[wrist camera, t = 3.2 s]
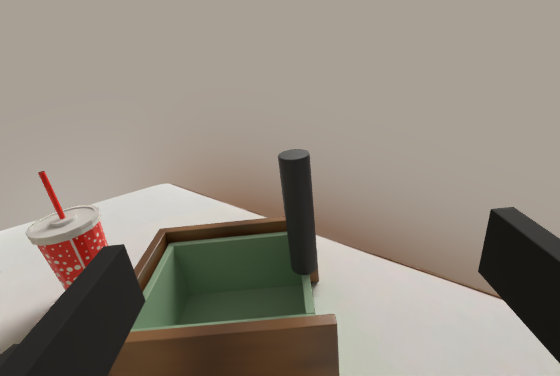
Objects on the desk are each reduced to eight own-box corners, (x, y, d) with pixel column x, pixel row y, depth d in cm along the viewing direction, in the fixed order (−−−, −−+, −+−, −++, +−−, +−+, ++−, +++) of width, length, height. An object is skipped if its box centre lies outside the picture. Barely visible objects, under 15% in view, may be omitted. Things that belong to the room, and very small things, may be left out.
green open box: (315, 284, 31) (303, 131, 24) (331, 386, 22) (319, 185, 15) (186, 295, 31) (140, 149, 25) (148, 401, 22) (58, 212, 16)
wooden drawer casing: (318, 276, 32) (313, 213, 29) (340, 405, 20) (337, 324, 17) (179, 289, 32) (159, 228, 29) (125, 421, 21) (84, 346, 18)
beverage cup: (121, 265, 37) (77, 155, 32) (132, 292, 33) (82, 169, 27) (63, 289, 34) (2, 173, 29) (66, 323, 30) (-7, 193, 24)
